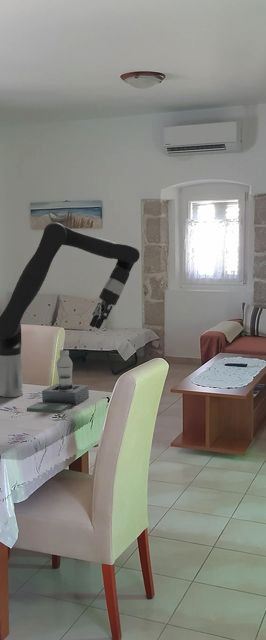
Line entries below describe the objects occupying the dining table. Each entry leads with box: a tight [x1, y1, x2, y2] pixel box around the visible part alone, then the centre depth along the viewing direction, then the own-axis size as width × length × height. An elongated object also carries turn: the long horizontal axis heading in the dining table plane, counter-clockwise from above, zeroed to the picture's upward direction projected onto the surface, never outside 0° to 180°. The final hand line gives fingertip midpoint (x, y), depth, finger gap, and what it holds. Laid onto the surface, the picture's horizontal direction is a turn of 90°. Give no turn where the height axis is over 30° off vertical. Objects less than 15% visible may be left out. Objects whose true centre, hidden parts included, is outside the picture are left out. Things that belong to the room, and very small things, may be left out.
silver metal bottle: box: [56, 349, 74, 391], centre depth 255 cm, size 6×7×20 cm
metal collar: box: [41, 383, 90, 406], centre depth 256 cm, size 14×13×5 cm
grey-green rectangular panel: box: [26, 401, 72, 414], centre depth 244 cm, size 14×9×1 cm, turn 71°
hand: (94, 327), depth 262 cm, fingers open, 8 cm apart
